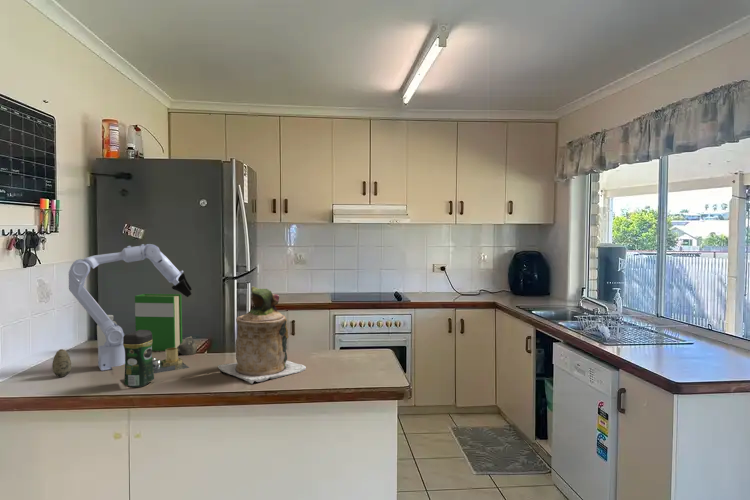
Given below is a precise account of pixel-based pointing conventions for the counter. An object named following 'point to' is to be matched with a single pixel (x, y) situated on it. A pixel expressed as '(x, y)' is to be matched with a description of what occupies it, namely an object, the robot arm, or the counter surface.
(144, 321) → the hardback book
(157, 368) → the carrier
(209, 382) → the counter surface
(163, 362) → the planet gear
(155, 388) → the counter surface
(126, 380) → the coffee jar
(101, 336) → the pill bottle
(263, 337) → the cookie jar
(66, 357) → the decorative egg
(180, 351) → the fossil
